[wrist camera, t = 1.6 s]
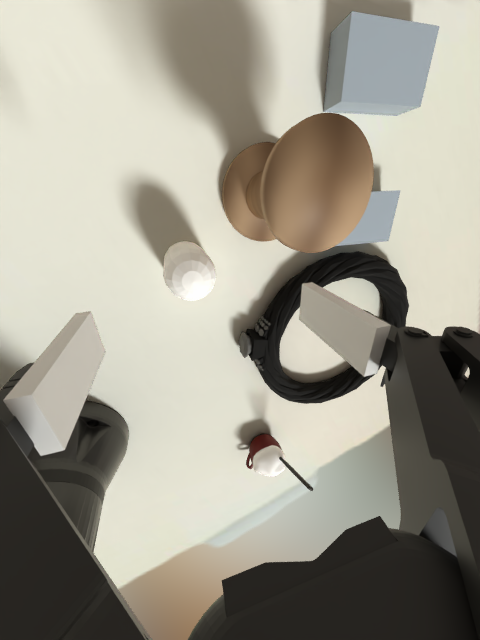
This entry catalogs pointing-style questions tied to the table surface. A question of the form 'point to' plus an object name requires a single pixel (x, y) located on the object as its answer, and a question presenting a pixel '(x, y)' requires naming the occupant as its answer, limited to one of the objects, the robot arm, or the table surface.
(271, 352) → the cable lock
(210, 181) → the table surface
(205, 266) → the capsule
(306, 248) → the knob
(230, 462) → the table surface
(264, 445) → the cocoa
